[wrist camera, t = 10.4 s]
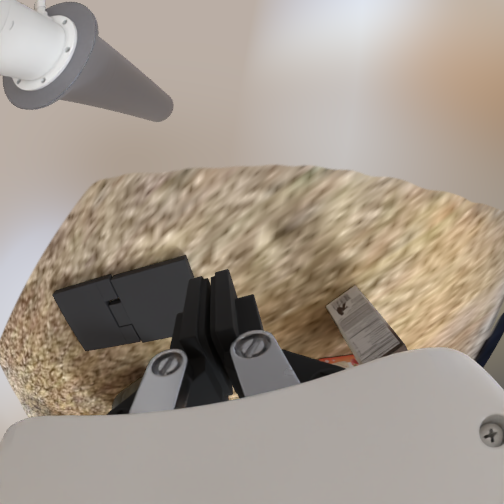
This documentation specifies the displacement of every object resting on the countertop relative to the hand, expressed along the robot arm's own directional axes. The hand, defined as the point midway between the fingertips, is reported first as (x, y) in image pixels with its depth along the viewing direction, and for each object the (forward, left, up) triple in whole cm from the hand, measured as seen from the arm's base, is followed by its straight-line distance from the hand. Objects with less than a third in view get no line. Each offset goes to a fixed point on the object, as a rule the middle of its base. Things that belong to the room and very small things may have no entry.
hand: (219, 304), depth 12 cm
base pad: (+13, -25, -27) cm, 39 cm away
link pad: (+13, -14, -27) cm, 33 cm away
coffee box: (+25, +16, -27) cm, 40 cm away
